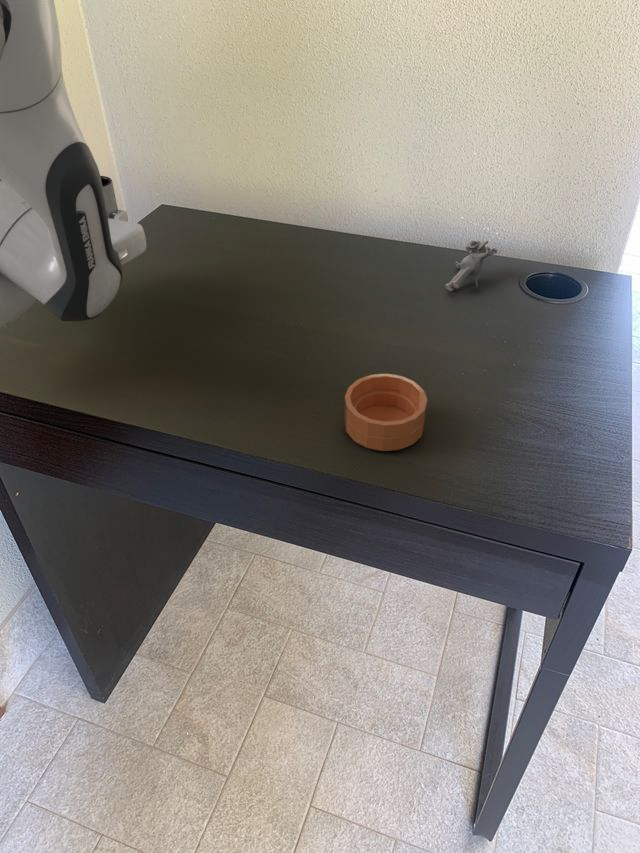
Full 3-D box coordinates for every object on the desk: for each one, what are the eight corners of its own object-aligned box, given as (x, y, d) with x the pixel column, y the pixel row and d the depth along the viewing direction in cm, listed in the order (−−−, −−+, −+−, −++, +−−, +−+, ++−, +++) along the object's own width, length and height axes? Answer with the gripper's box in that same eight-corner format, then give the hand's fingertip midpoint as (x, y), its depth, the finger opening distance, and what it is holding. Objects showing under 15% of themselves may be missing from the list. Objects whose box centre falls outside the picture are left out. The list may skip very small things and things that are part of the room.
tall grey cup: (88, 254, 101) (71, 185, 94) (106, 241, 104) (91, 173, 97) (114, 259, 100) (99, 189, 93) (131, 246, 103) (118, 178, 96)
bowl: (394, 466, 75) (396, 436, 72) (329, 432, 80) (328, 402, 77) (438, 423, 81) (442, 393, 78) (374, 393, 85) (376, 364, 82)
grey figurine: (421, 281, 106) (453, 243, 109) (445, 309, 108) (477, 270, 111) (458, 264, 97) (492, 223, 100) (484, 295, 99) (517, 254, 101)
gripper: (106, 243, 84) (165, 200, 94) (-26, 218, 90) (42, 181, 99) (117, 288, 88) (171, 243, 98) (-10, 262, 94) (53, 222, 104)
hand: (105, 211), depth 99 cm, fingers closed on tall grey cup, 4 cm apart
